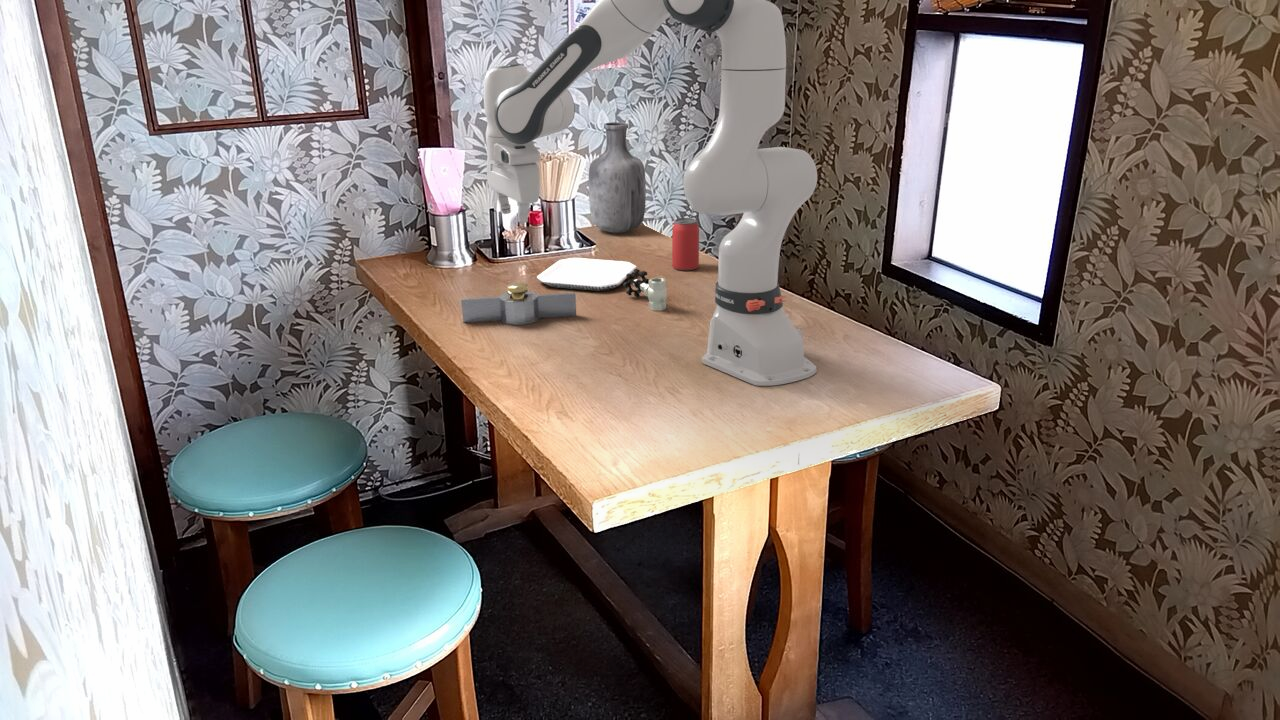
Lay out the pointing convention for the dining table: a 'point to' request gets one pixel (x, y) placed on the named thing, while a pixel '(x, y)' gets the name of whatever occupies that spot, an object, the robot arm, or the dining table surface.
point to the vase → (617, 184)
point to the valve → (648, 289)
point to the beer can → (685, 244)
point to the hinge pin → (517, 290)
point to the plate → (586, 274)
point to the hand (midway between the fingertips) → (513, 217)
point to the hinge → (518, 308)
